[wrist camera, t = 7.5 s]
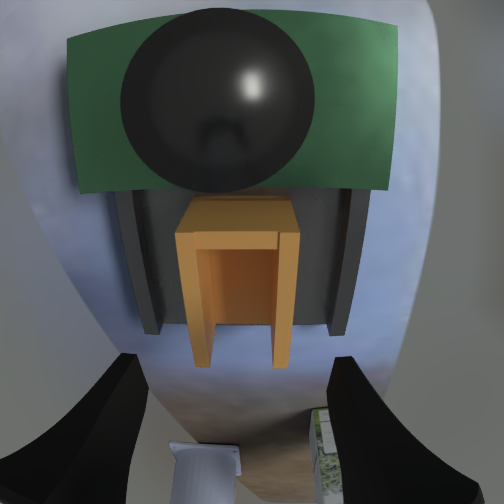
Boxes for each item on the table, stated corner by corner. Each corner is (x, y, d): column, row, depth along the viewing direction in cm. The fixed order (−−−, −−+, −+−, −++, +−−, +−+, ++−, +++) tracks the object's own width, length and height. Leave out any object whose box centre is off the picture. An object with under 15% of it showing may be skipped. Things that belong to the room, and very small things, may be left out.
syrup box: (307, 434, 30) (319, 557, 17) (311, 406, 27) (327, 551, 14) (359, 428, 29) (381, 545, 17) (369, 398, 27) (401, 535, 14)
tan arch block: (282, 315, 20) (287, 368, 16) (204, 315, 20) (195, 367, 16) (289, 195, 17) (300, 232, 13) (193, 196, 17) (174, 232, 13)
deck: (345, 315, 21) (370, 395, 15) (133, 313, 22) (100, 389, 15) (374, 34, 13) (443, 11, 7) (94, 43, 13) (15, 32, 7)
